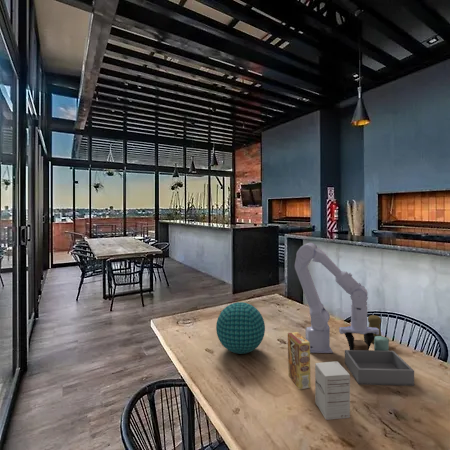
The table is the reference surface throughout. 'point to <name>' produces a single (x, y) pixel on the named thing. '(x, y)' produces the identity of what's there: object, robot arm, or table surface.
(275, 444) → the table surface
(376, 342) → the teal cylinder
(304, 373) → the candy box
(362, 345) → the walnut cube
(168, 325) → the table surface
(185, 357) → the table surface
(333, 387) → the supplement box
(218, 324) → the decorative ball
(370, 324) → the cork
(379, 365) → the tote
